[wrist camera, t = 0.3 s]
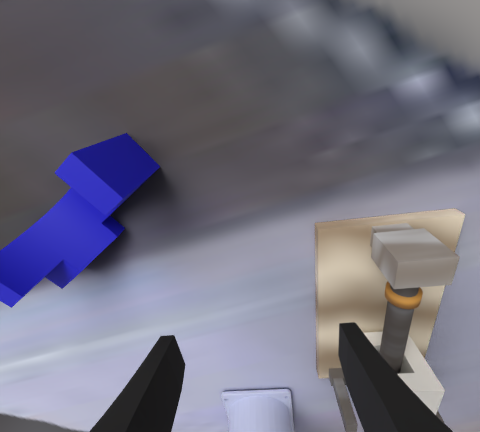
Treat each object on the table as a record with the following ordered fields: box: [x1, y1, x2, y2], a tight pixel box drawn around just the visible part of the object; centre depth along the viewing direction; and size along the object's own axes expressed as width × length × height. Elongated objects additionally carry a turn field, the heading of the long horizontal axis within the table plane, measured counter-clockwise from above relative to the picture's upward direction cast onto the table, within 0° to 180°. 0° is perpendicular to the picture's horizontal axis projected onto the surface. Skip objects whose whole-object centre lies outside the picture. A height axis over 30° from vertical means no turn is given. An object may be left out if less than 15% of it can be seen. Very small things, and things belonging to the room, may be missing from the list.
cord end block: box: [364, 332, 445, 415], centre depth 21 cm, size 4×5×5 cm
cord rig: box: [315, 208, 465, 432], centre depth 20 cm, size 18×10×6 cm, turn 8°
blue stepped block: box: [0, 133, 160, 308], centre depth 17 cm, size 12×4×6 cm, turn 131°
